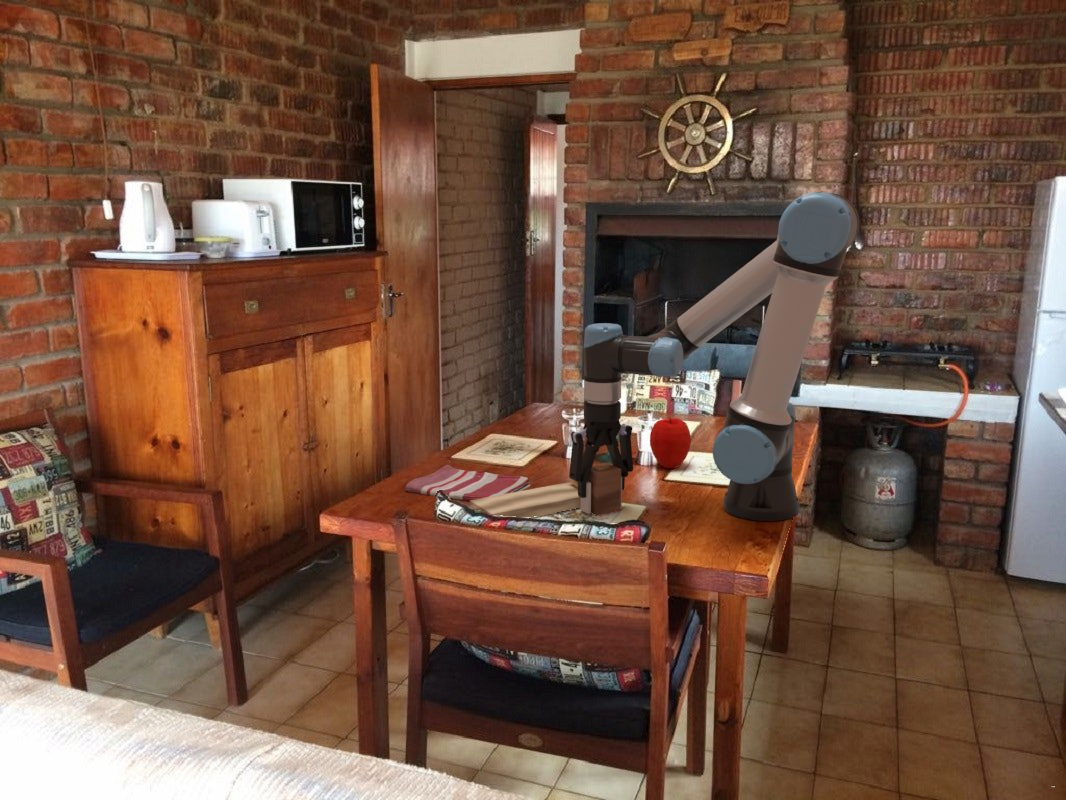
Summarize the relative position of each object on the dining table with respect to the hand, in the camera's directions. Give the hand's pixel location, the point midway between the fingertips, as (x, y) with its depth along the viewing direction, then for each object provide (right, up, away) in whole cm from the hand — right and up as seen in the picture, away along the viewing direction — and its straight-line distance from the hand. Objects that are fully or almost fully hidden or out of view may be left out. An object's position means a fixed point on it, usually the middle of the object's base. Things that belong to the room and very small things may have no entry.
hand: (601, 508), depth 187 cm
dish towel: (-29, +2, +16) cm, 33 cm away
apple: (+19, +6, +31) cm, 37 cm away
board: (-13, 0, +2) cm, 13 cm away
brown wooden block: (-2, 0, +4) cm, 4 cm away
